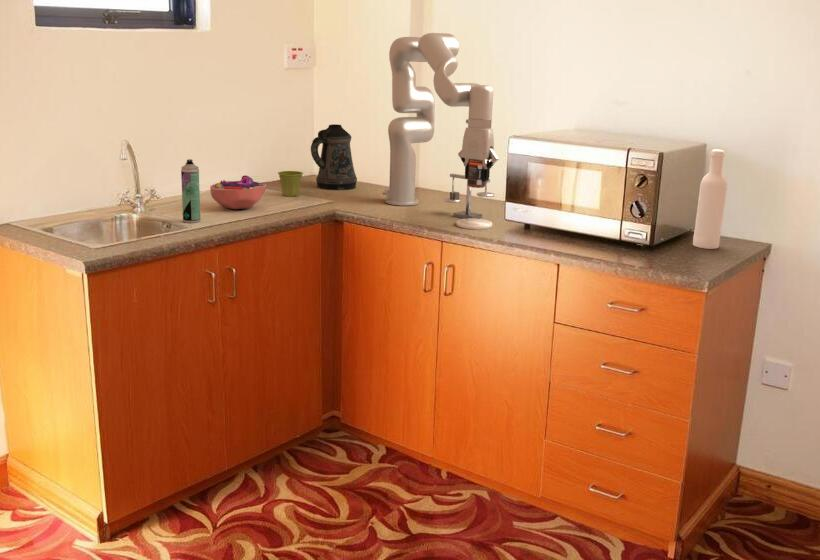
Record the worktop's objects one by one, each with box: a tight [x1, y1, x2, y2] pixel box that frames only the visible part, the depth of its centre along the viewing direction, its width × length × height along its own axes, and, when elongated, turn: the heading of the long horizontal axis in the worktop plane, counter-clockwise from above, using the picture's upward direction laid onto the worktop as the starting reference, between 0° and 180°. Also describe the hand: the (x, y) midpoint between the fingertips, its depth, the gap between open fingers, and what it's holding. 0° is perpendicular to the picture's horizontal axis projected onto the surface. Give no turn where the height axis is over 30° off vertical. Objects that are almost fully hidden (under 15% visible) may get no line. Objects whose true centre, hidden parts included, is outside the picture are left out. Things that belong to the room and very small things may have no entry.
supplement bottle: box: [468, 159, 486, 189], centre depth 283 cm, size 6×6×11 cm
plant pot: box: [277, 170, 304, 198], centre depth 329 cm, size 9×9×9 cm
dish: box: [455, 218, 493, 231], centre depth 288 cm, size 12×12×1 cm
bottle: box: [692, 149, 728, 250], centre depth 266 cm, size 8×8×30 cm
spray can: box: [180, 158, 201, 224], centre depth 277 cm, size 6×6×20 cm
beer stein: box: [310, 123, 358, 191], centre depth 347 cm, size 16×19×25 cm
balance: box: [443, 173, 495, 219], centre depth 300 cm, size 20×6×14 cm, turn 50°
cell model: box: [209, 175, 267, 210], centre depth 301 cm, size 17×20×11 cm
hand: (476, 179), depth 284 cm, fingers closed on supplement bottle, 6 cm apart
